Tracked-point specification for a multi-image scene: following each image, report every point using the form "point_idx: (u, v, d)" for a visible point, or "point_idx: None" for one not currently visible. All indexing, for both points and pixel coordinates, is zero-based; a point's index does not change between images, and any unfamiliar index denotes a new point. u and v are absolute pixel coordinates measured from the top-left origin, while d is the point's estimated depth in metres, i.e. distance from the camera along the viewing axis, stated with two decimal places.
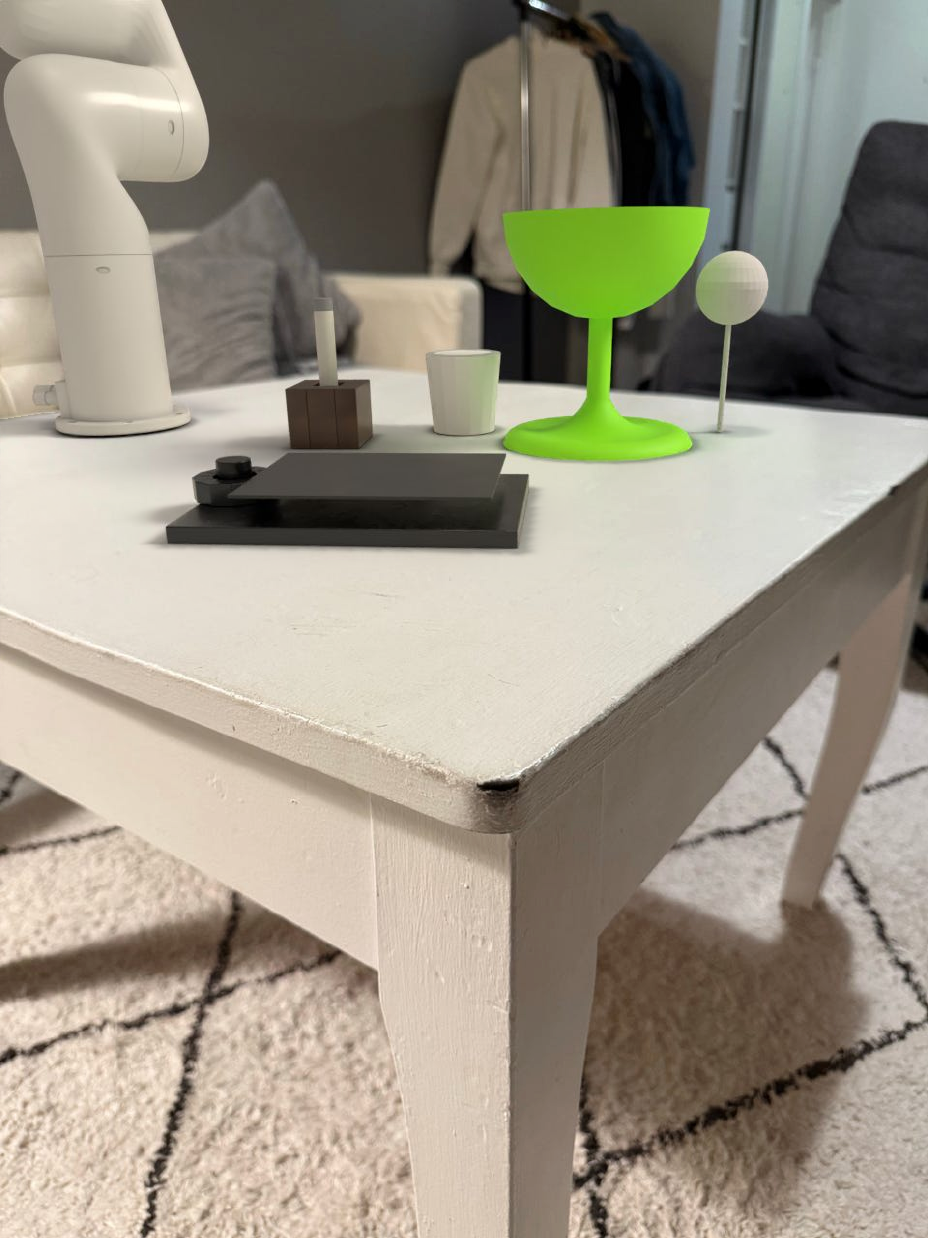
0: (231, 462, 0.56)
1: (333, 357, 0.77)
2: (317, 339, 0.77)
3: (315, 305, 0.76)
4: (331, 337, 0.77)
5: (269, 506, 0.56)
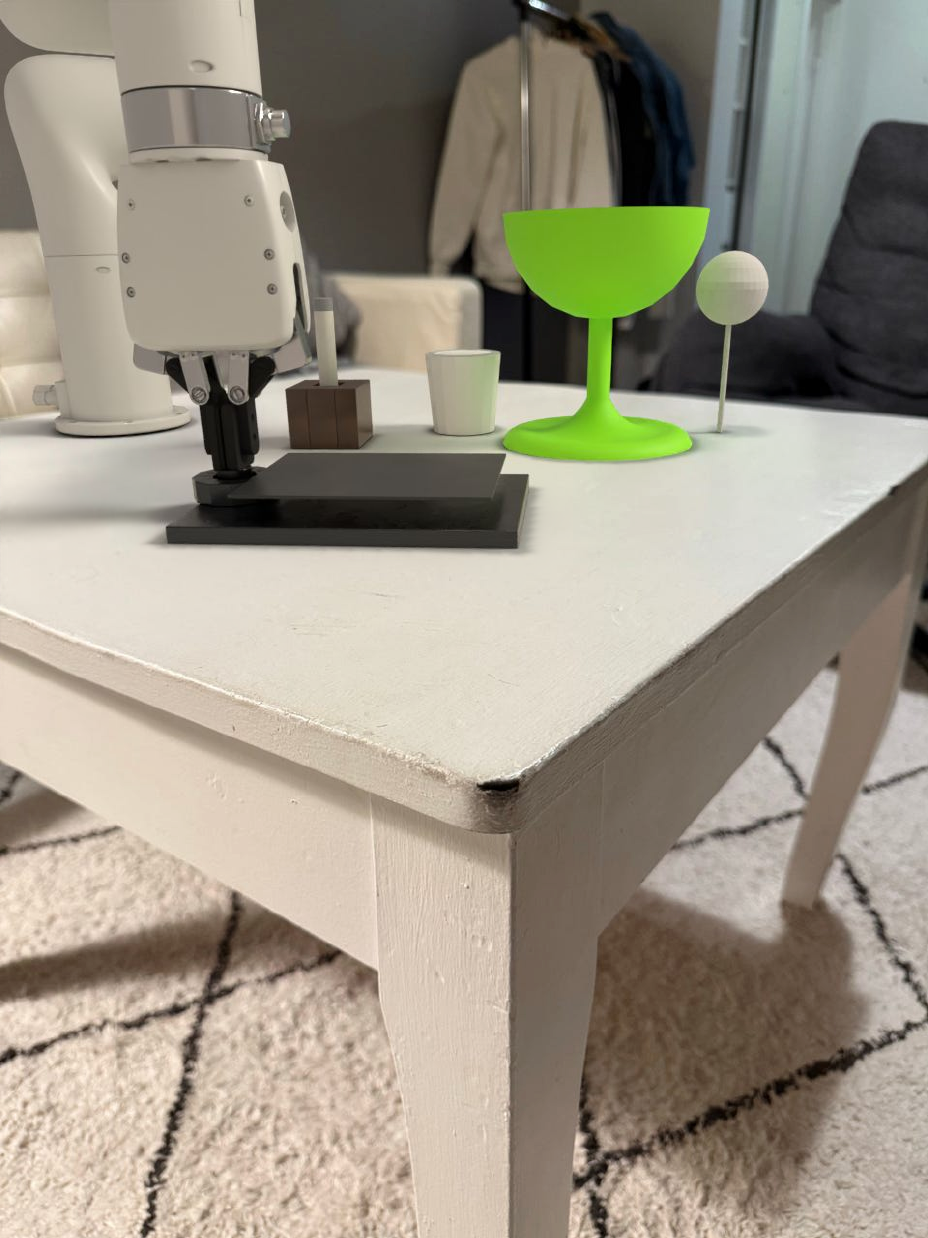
0: None
1: (333, 357, 0.77)
2: (317, 339, 0.77)
3: (315, 305, 0.76)
4: (331, 337, 0.77)
5: (269, 506, 0.56)
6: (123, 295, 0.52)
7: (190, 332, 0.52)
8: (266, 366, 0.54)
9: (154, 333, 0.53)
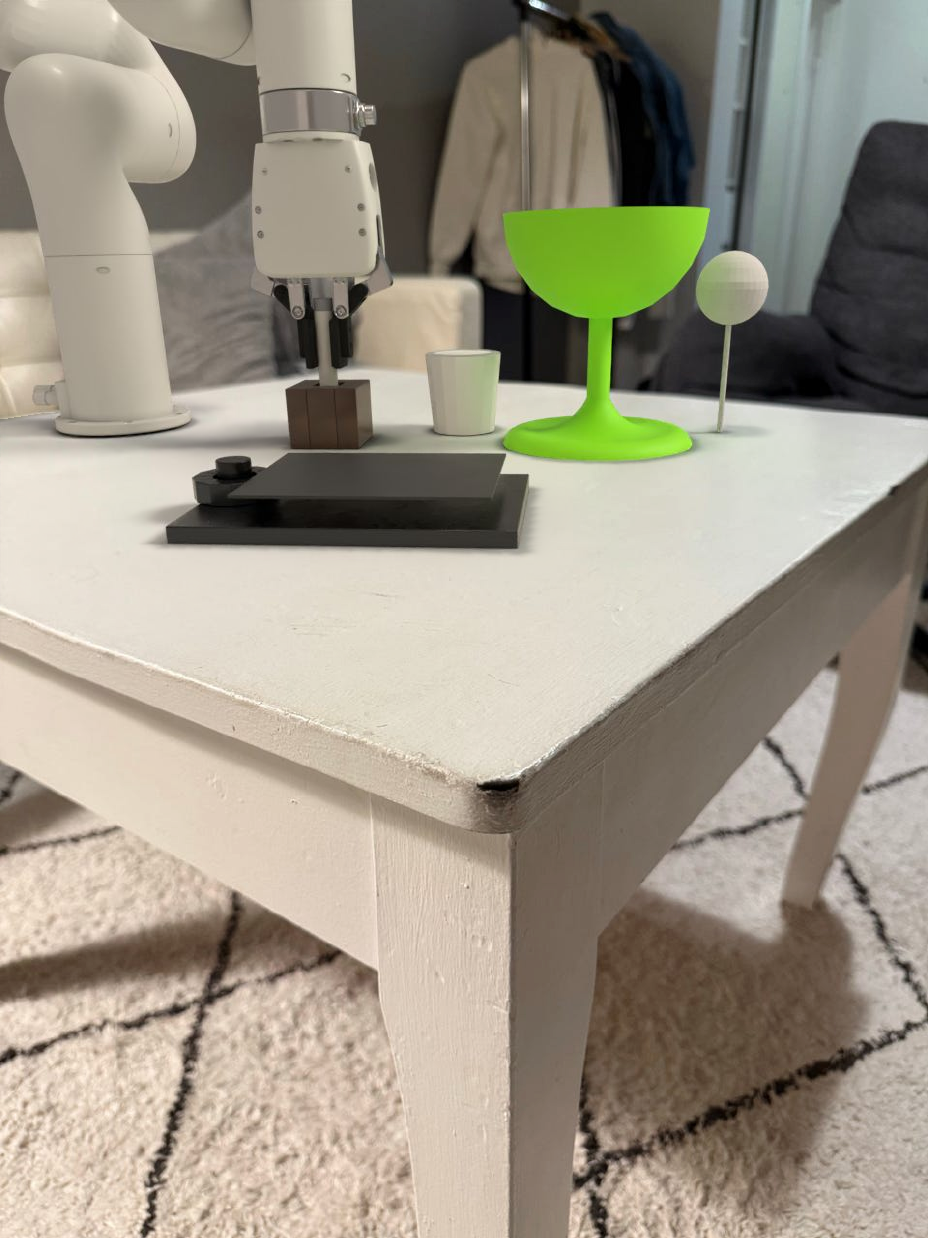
0: (231, 462, 0.56)
1: None
2: (317, 339, 0.77)
3: (315, 305, 0.76)
4: None
5: (269, 506, 0.56)
6: (254, 237, 0.73)
7: (302, 263, 0.73)
8: (362, 290, 0.75)
9: (276, 264, 0.74)
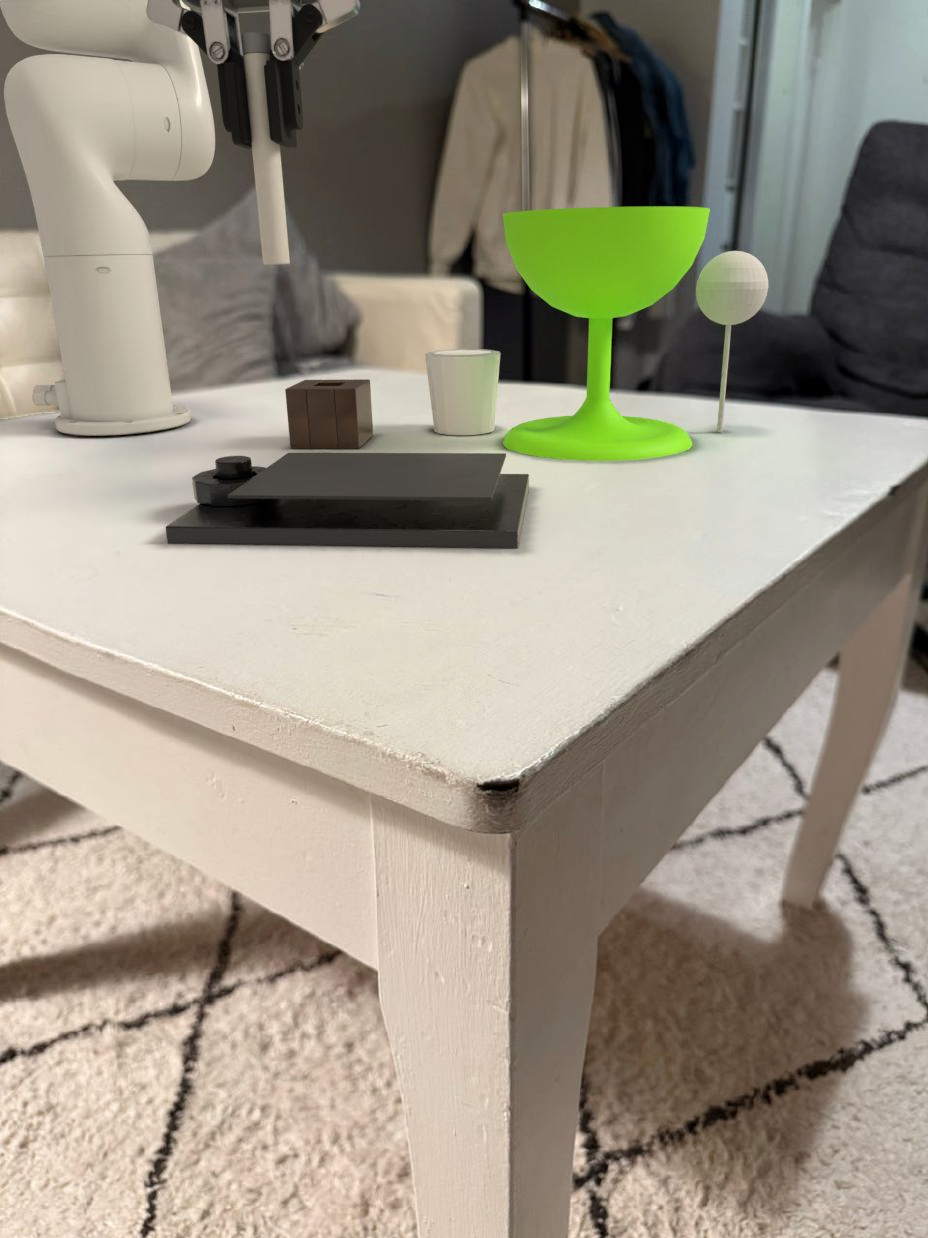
0: (231, 462, 0.56)
1: None
2: (249, 100, 0.52)
3: (244, 44, 0.51)
4: None
5: (269, 506, 0.56)
6: None
7: None
8: (313, 14, 0.50)
9: None
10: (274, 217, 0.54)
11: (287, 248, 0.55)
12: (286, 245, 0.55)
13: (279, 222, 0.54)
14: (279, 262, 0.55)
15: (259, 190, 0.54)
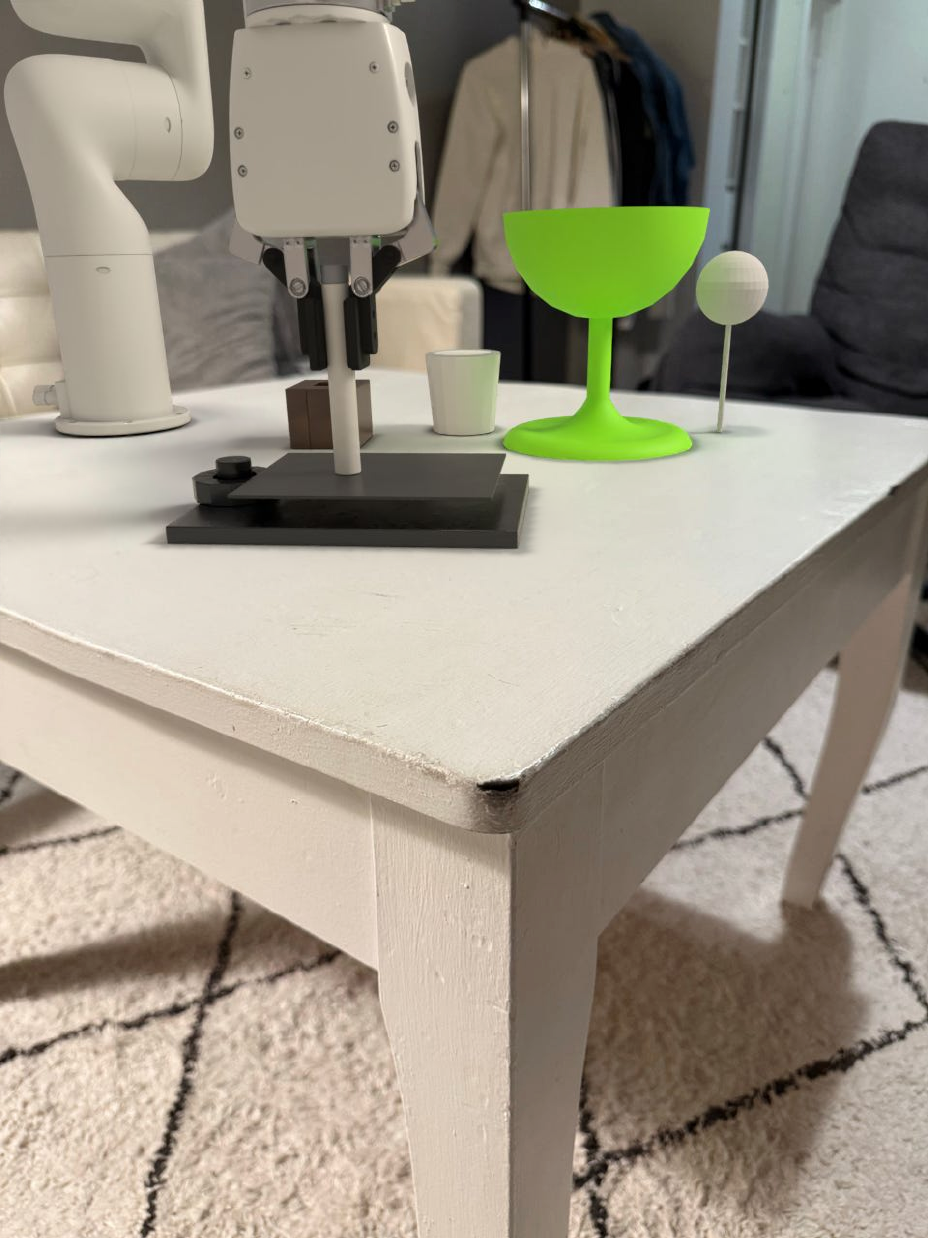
0: (231, 462, 0.56)
1: None
2: (326, 325, 0.53)
3: (323, 275, 0.52)
4: None
5: (269, 506, 0.56)
6: (234, 175, 0.49)
7: (304, 214, 0.49)
8: (393, 255, 0.51)
9: (265, 216, 0.50)
10: (348, 432, 0.55)
11: (359, 458, 0.56)
12: (358, 456, 0.56)
13: (353, 436, 0.55)
14: (351, 473, 0.56)
15: (333, 407, 0.54)
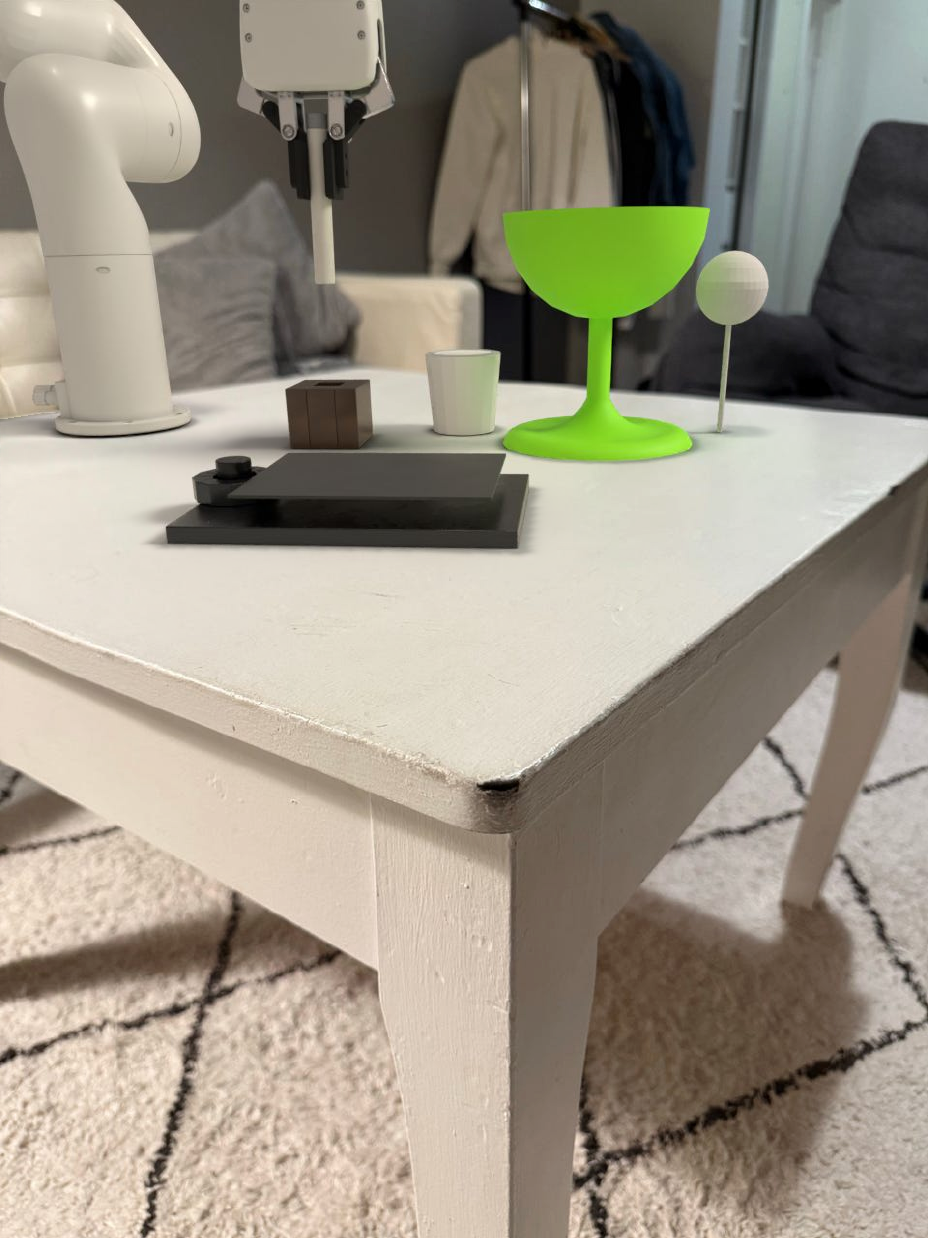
0: (231, 462, 0.56)
1: None
2: (310, 162, 0.70)
3: (308, 121, 0.69)
4: None
5: (269, 506, 0.56)
6: (242, 40, 0.66)
7: (294, 72, 0.66)
8: (360, 107, 0.67)
9: (265, 73, 0.66)
10: (325, 249, 0.72)
11: (334, 271, 0.73)
12: (333, 269, 0.73)
13: (329, 252, 0.72)
14: (327, 282, 0.73)
15: (314, 228, 0.71)
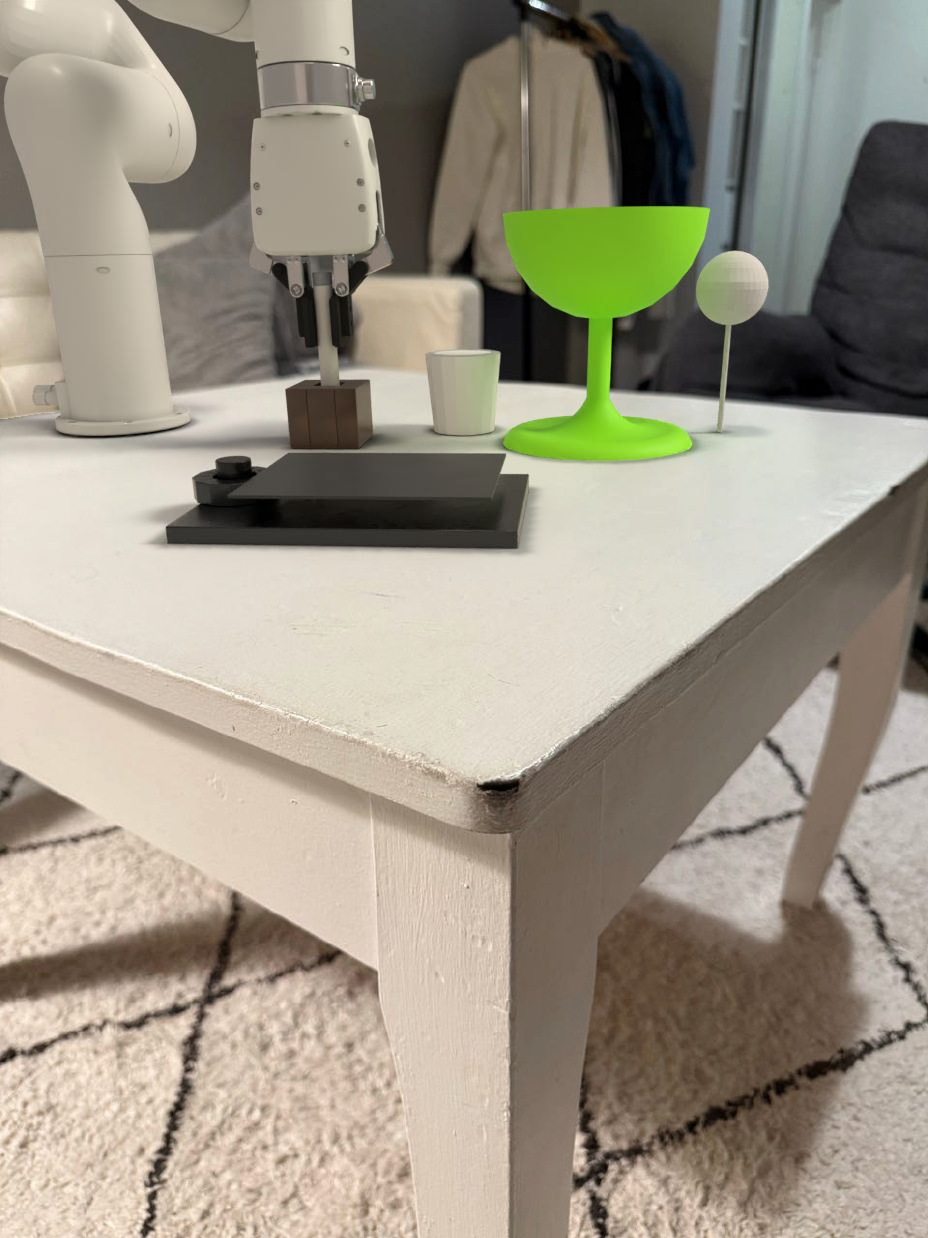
0: (231, 462, 0.56)
1: None
2: (316, 314, 0.76)
3: (314, 279, 0.75)
4: None
5: (269, 506, 0.56)
6: (253, 213, 0.72)
7: (301, 240, 0.73)
8: (363, 267, 0.74)
9: (275, 241, 0.73)
10: None
11: None
12: None
13: None
14: None
15: (322, 372, 0.78)
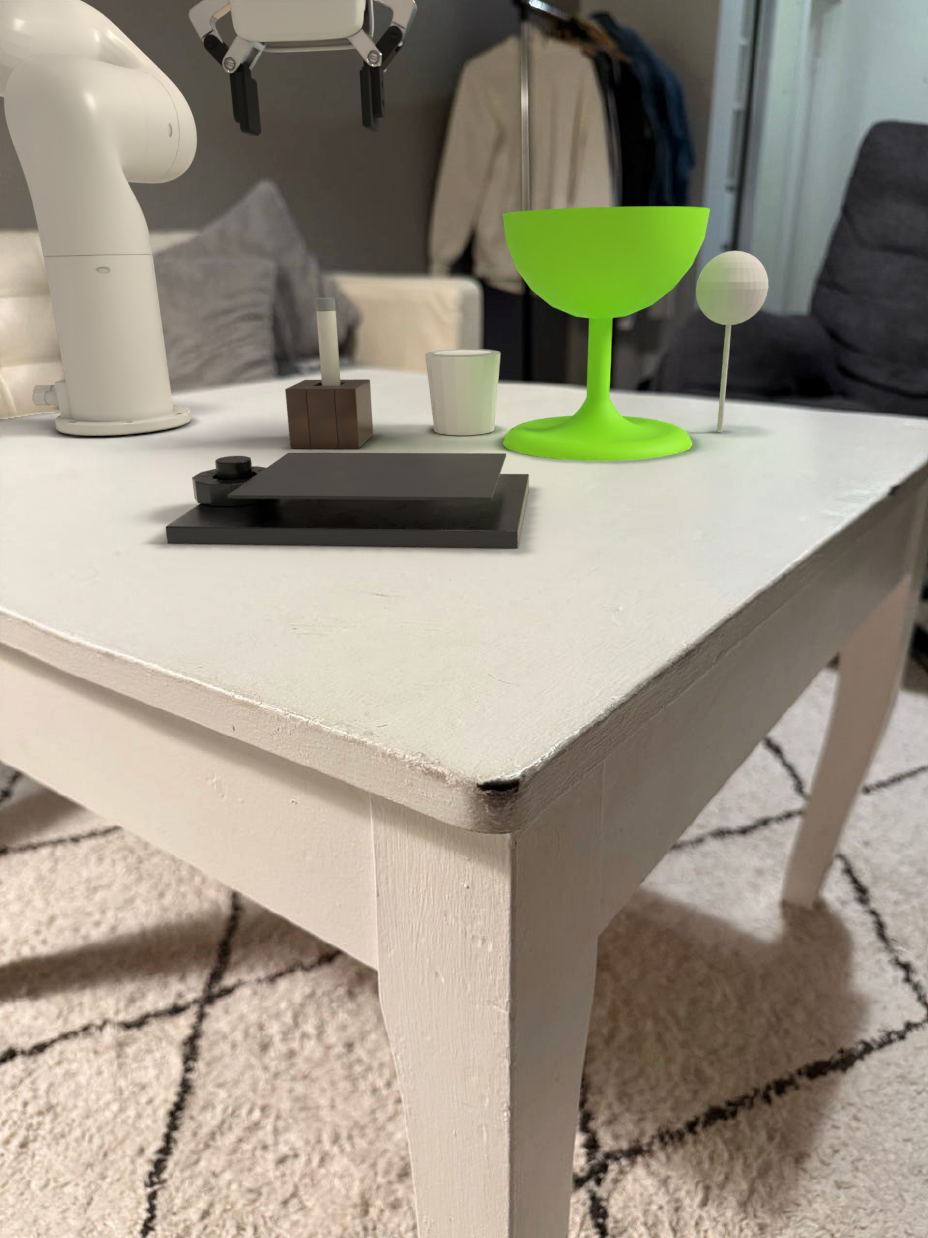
0: (231, 462, 0.56)
1: (335, 357, 0.77)
2: (319, 339, 0.77)
3: (317, 305, 0.76)
4: (333, 337, 0.77)
5: (269, 506, 0.56)
6: None
7: (283, 21, 0.67)
8: (397, 33, 0.68)
9: (254, 23, 0.67)
10: None
11: None
12: None
13: None
14: None
15: None
